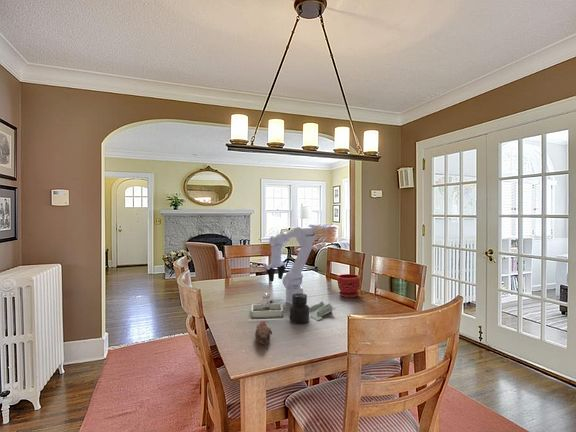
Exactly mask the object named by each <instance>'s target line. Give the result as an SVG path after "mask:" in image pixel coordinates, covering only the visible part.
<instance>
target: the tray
mask: <svg viewBox="0 0 576 432" xmlns="http://www.w3.org/2000/svg"><path fill="white" fill-rule="evenodd" d="M262 308H263V304H260V303H252V304H251V313H250V314H251V318H253V320H261V319H262V320H263V319H267V320H268V319H271V317H281V319H284V308H283V304H282V303H280V302H279V303H278V302H276V303H275V302H274V304H270V308H271V311H262Z"/></svg>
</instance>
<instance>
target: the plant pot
mask: <svg viewBox="0 0 576 432" xmlns="http://www.w3.org/2000/svg"><path fill="white" fill-rule="evenodd" d="M336 280H337V281H336V282H337V287H338V289H339V293H338V294H339V295H340V296H342V297H344V298H356V297H358V296H359V295H360V292H359V289H360V284H361V278H360V275H359V274H355V273H354V274H353V273H352V274H351V273H346V274H344V273H343V274H338V275H337V278H336Z"/></svg>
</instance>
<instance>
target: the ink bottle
mask: <svg viewBox="0 0 576 432" xmlns="http://www.w3.org/2000/svg"><path fill="white" fill-rule="evenodd" d="M307 302H308V295H307V294H305V293H303V294H302V293H296V294H293V295H292V303H293V304H291V305H290V307H289V322H290V323H292V324H297V325H302V324H303V325H304V324H307V323H309V321H310V317H309V316H310V313H309V307H310V306H309V305H308V303H307Z"/></svg>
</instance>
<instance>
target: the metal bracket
mask: <svg viewBox="0 0 576 432" xmlns="http://www.w3.org/2000/svg"><path fill="white" fill-rule="evenodd" d="M334 310H336V307H333V306H332V305H331V302H330V303H325V302H324V301H322V300H321V301H320V302H318V303H317V304H313V305H311V306H309V316H310V317H309V318H311V319H312V320H313V321H315V322H319V321H320V320H322V319H323V316H325V315H327V314H329V313H330V312H331V313H330V314H333V311H334Z"/></svg>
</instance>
